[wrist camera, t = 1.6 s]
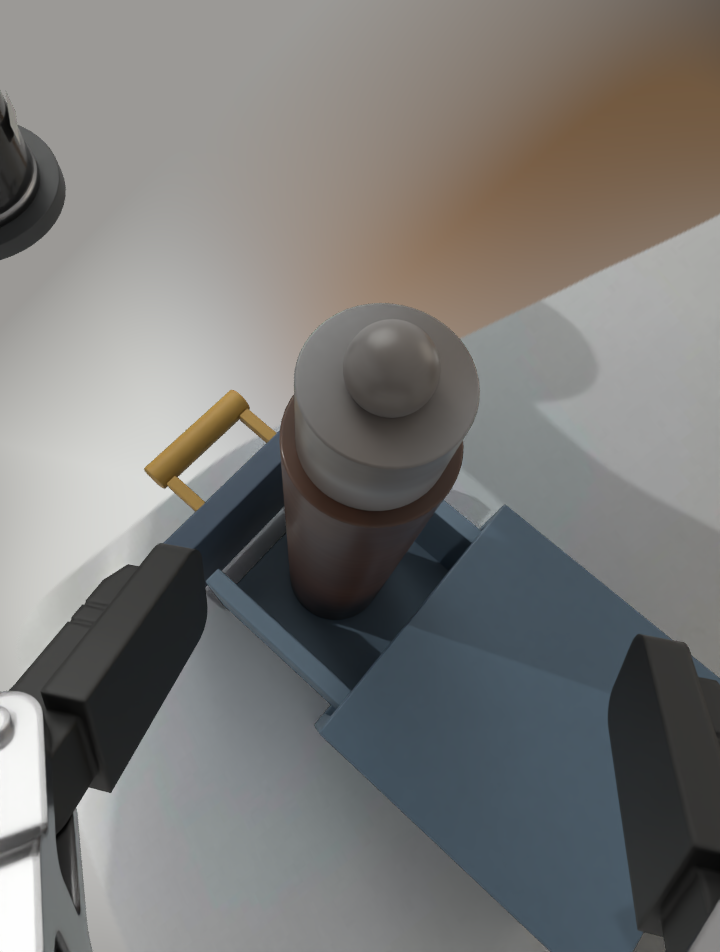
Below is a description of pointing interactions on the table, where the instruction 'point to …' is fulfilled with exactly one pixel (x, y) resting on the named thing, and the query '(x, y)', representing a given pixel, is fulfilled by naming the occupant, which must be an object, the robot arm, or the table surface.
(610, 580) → the table surface
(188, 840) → the table surface
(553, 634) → the cabinet
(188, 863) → the table surface
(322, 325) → the pepper mill
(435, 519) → the drawer
